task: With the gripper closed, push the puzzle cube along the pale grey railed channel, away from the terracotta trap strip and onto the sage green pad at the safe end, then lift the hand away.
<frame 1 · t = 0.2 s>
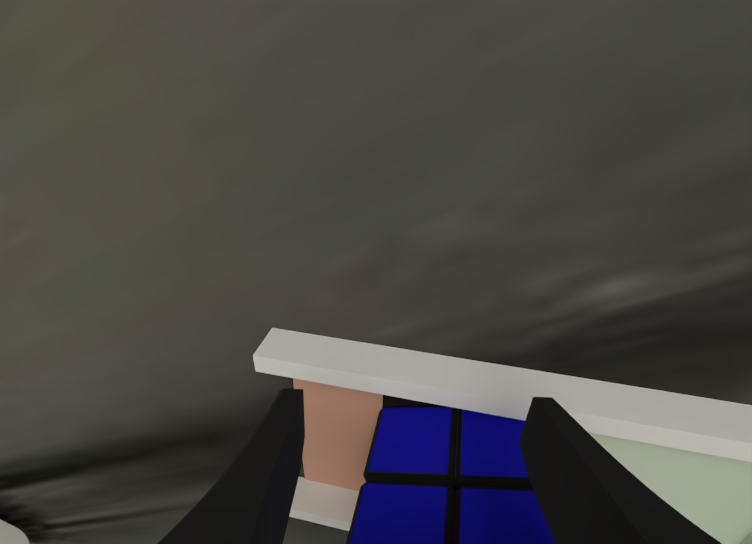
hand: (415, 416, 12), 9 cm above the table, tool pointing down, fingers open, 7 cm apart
trap channel: (501, 461, 26), on the table
puzzle cube: (470, 453, 26), resting in trap channel
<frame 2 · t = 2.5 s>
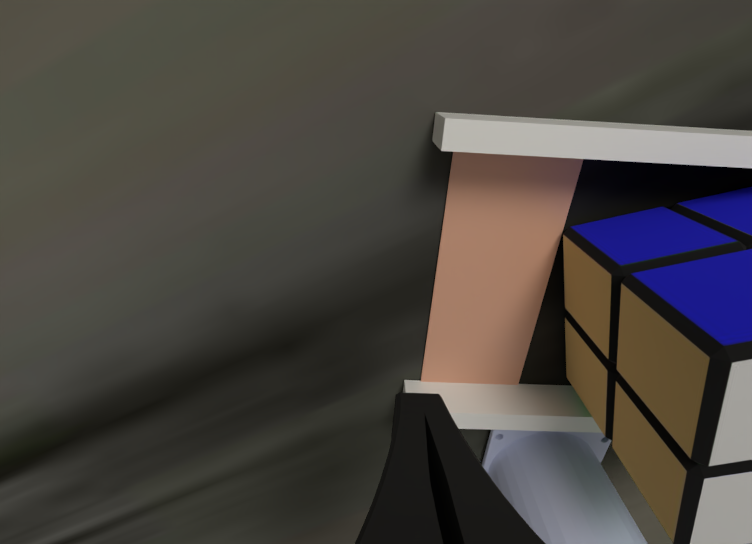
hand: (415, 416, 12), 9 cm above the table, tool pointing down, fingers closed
trap channel: (690, 290, 21), on the table
puzzle cube: (654, 288, 21), resting in trap channel
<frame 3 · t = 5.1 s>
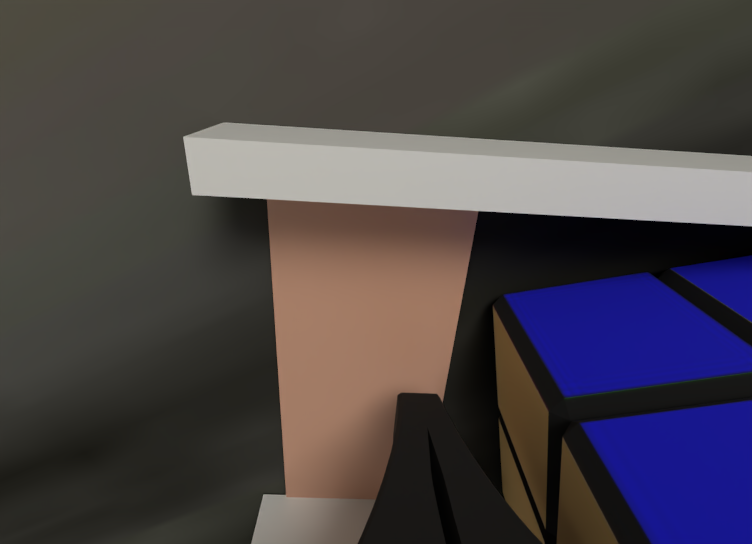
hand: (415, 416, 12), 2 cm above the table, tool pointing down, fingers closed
trap channel: (661, 384, 15), on the table
puzzle cube: (629, 381, 15), resting in trap channel, touching gripper
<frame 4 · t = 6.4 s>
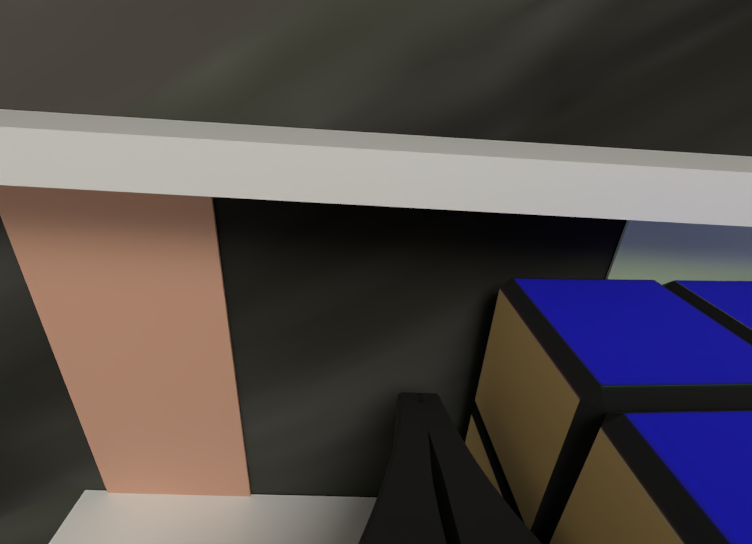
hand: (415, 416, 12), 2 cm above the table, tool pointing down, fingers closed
trap channel: (459, 377, 14), on the table
puzzle cube: (601, 393, 14), resting in trap channel, touching gripper
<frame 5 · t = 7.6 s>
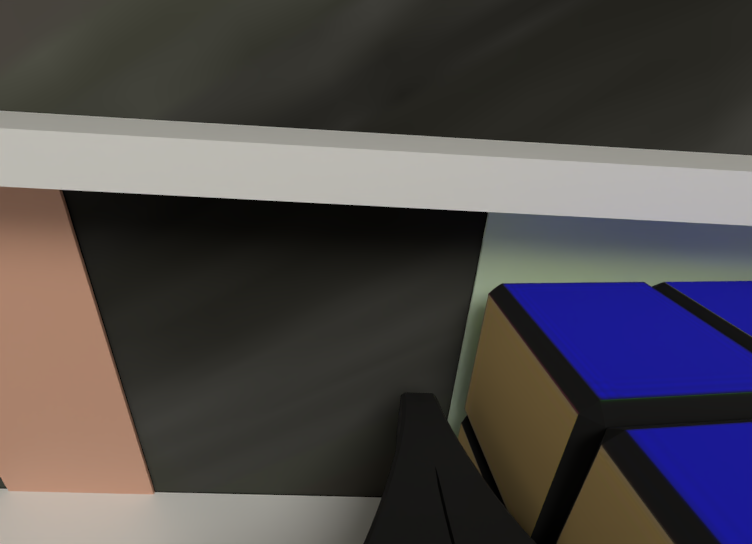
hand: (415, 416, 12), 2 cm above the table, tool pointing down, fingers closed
trap channel: (344, 372, 14), on the table
puzzle cube: (591, 396, 14), resting on trap channel, touching gripper
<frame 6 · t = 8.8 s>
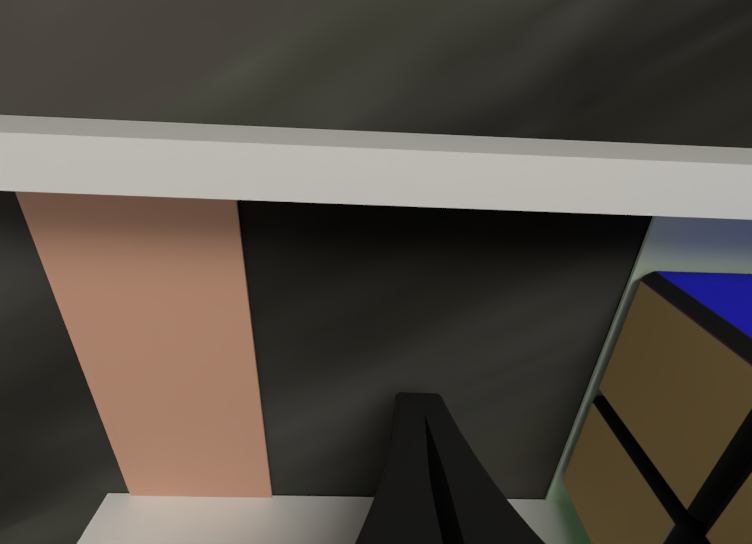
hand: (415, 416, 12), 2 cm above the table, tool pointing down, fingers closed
trap channel: (481, 376, 14), on the table
puzzle cube: (719, 387, 15), resting on trap channel
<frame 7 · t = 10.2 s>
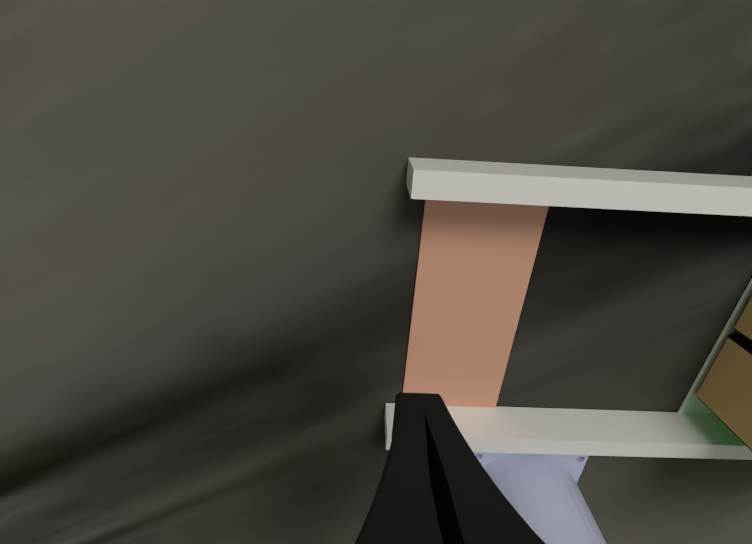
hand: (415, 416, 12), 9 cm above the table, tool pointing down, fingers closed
trap channel: (658, 320, 22), on the table
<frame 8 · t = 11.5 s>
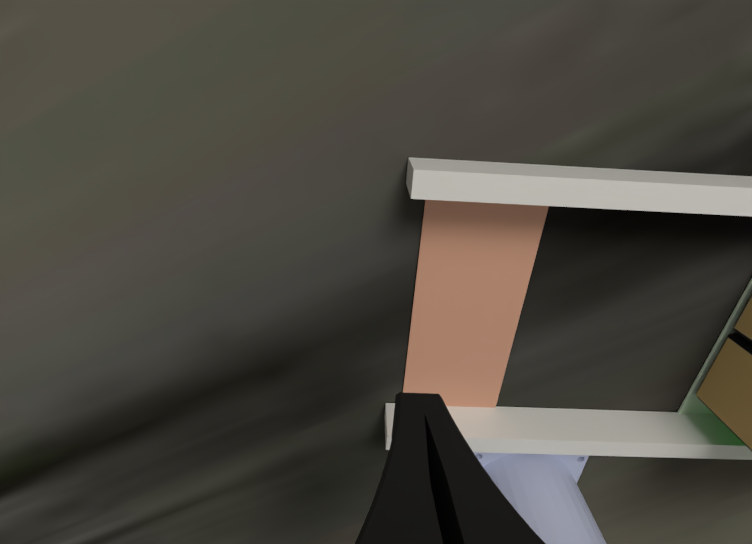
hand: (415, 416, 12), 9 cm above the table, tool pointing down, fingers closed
trap channel: (658, 320, 22), on the table
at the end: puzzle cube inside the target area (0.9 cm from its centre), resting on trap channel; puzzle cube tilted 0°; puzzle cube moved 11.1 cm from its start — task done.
